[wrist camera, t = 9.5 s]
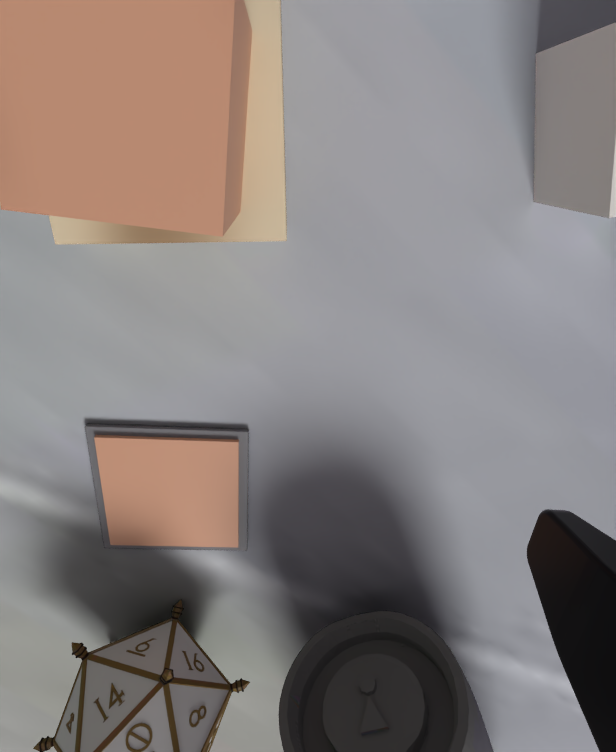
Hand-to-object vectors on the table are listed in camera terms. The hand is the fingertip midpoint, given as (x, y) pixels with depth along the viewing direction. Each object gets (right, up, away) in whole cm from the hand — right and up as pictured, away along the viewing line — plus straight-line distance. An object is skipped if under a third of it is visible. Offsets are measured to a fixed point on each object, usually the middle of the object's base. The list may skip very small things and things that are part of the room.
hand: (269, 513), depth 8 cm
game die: (-7, -12, +18) cm, 23 cm away
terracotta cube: (-3, +9, +5) cm, 11 cm away
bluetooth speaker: (+6, -19, +22) cm, 30 cm away
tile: (-6, -3, +14) cm, 15 cm away
